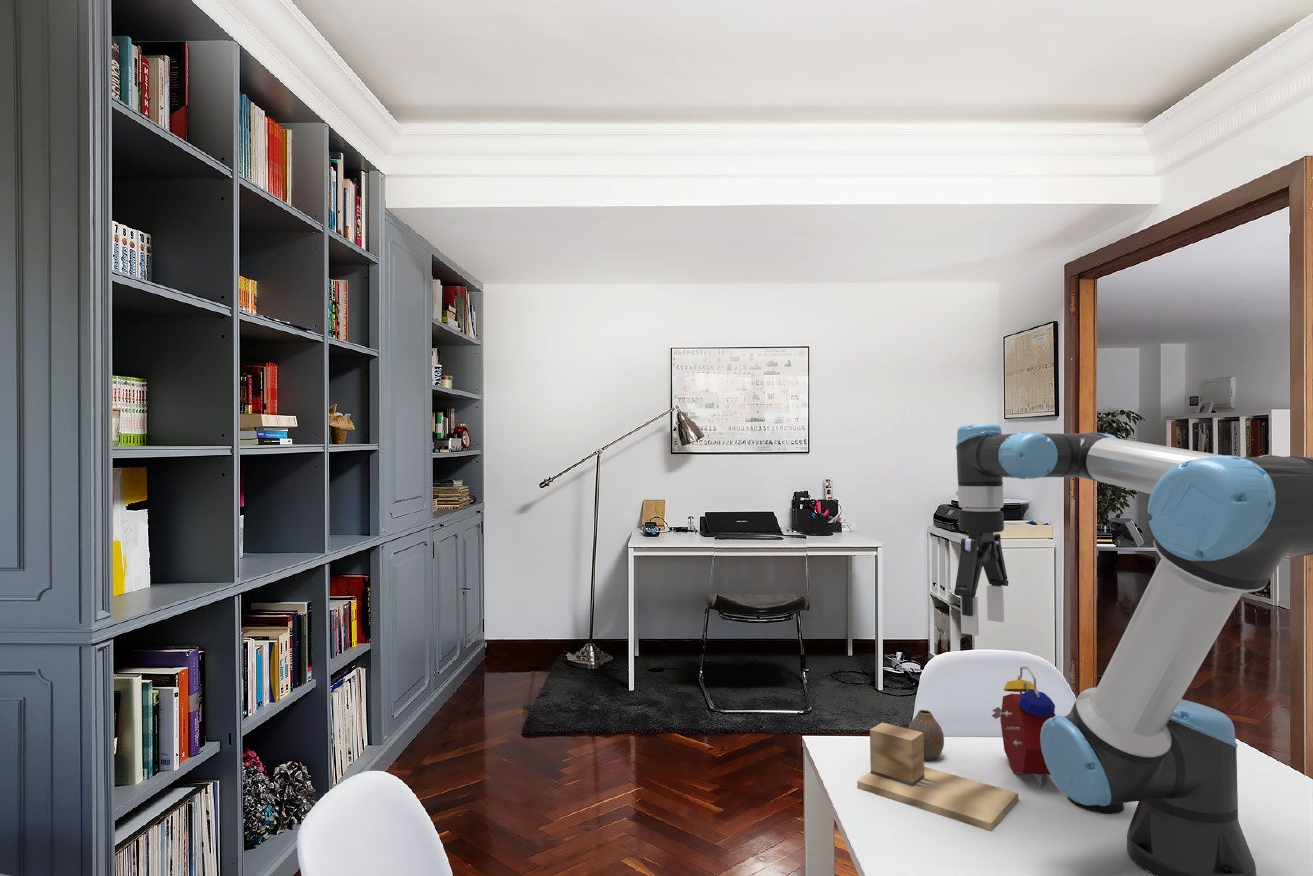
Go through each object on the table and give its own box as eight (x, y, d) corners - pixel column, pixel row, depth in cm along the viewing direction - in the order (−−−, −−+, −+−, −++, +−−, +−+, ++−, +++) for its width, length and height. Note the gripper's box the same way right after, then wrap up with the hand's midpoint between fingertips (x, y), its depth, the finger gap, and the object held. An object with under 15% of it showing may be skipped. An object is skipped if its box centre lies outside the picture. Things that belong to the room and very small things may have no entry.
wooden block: (924, 777, 132) (923, 732, 132) (912, 786, 128) (911, 740, 128) (883, 765, 137) (882, 722, 138) (870, 773, 134) (869, 729, 134)
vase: (908, 761, 142) (907, 715, 142) (906, 747, 149) (905, 704, 149) (945, 765, 140) (944, 719, 140) (942, 751, 147) (941, 707, 147)
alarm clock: (1064, 793, 128) (1061, 678, 128) (1012, 790, 129) (1009, 677, 130) (1034, 759, 142) (1031, 656, 143) (987, 756, 144) (985, 655, 144)
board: (1018, 800, 125) (1018, 793, 125) (991, 831, 115) (991, 823, 115) (891, 763, 141) (891, 757, 141) (857, 787, 131) (857, 781, 131)
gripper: (982, 505, 143) (985, 613, 142) (932, 512, 125) (935, 636, 124) (1023, 506, 138) (1026, 618, 137) (978, 514, 120) (981, 643, 119)
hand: (983, 627), depth 131 cm, fingers open, 13 cm apart
